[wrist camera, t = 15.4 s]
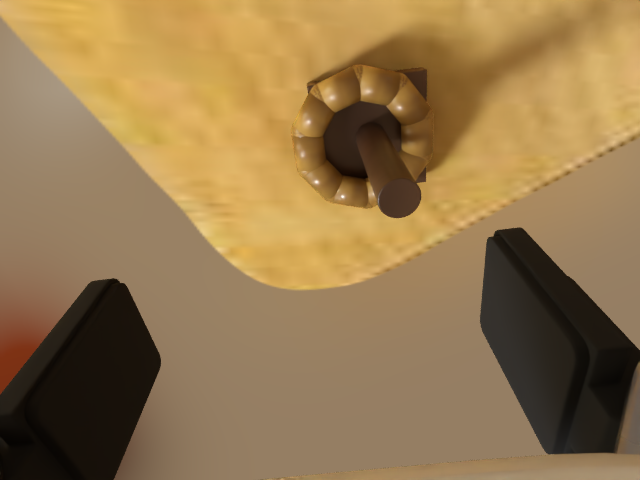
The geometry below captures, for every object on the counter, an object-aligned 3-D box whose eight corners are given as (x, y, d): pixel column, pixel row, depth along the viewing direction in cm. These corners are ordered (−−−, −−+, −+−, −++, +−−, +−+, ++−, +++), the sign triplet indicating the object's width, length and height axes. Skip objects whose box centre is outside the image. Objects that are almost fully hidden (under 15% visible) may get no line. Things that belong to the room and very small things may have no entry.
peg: (422, 66, 31) (490, 103, 19) (421, 175, 36) (476, 258, 24) (307, 82, 32) (306, 127, 20) (321, 188, 36) (327, 275, 24)
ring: (429, 52, 29) (438, 55, 27) (428, 193, 35) (435, 204, 33) (282, 72, 30) (280, 77, 28) (304, 208, 35) (304, 221, 33)
